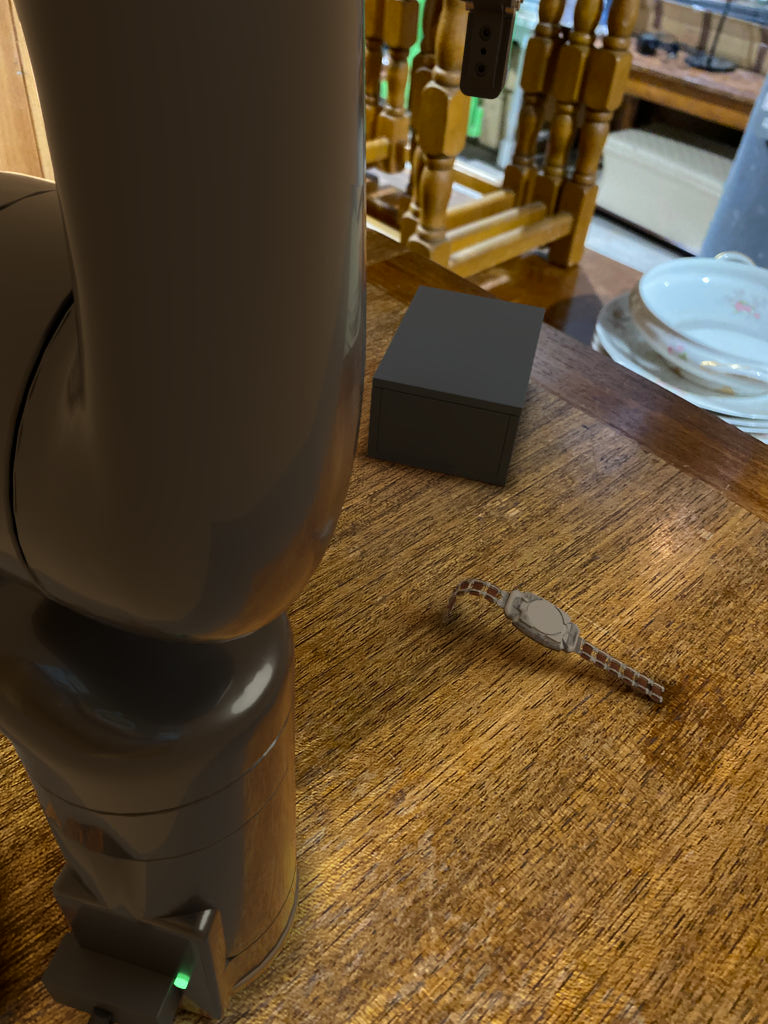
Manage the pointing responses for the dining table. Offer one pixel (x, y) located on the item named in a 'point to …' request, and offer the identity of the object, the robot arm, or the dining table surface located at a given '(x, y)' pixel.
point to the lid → (463, 350)
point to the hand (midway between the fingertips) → (481, 94)
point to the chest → (441, 435)
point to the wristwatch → (552, 630)
